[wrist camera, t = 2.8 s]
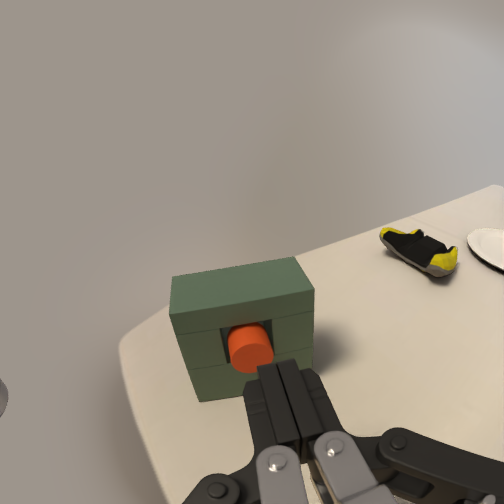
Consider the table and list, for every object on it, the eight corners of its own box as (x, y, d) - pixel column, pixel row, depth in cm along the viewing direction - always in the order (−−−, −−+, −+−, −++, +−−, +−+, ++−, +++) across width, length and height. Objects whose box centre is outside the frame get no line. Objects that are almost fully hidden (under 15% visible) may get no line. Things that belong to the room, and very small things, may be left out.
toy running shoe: (434, 294, 41) (466, 274, 44) (441, 262, 38) (473, 245, 41) (372, 255, 53) (407, 242, 56) (374, 226, 51) (410, 216, 54)
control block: (311, 380, 31) (314, 288, 25) (199, 402, 29) (168, 313, 24) (296, 344, 36) (294, 256, 31) (196, 362, 35) (172, 276, 29)
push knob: (274, 368, 26) (272, 339, 24) (234, 376, 25) (227, 347, 24) (267, 346, 28) (264, 317, 27) (229, 353, 28) (224, 324, 26)
